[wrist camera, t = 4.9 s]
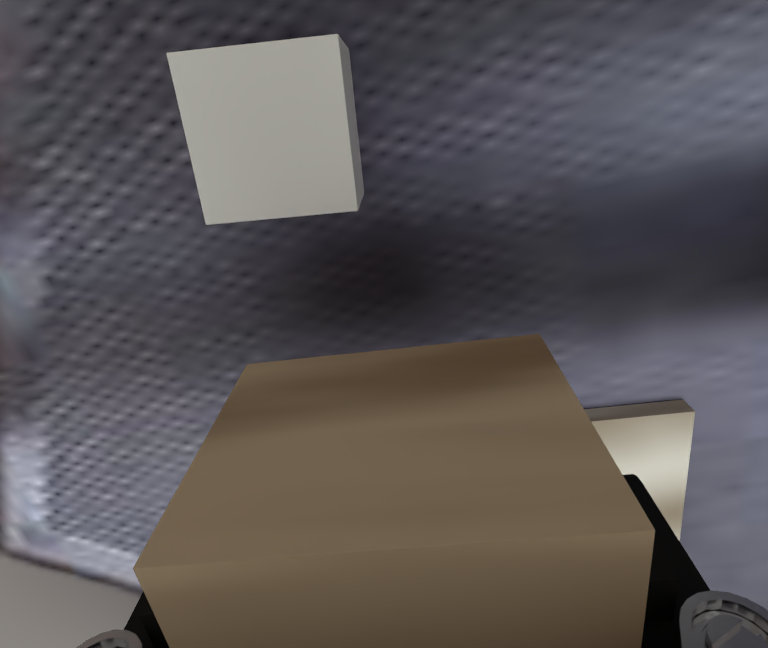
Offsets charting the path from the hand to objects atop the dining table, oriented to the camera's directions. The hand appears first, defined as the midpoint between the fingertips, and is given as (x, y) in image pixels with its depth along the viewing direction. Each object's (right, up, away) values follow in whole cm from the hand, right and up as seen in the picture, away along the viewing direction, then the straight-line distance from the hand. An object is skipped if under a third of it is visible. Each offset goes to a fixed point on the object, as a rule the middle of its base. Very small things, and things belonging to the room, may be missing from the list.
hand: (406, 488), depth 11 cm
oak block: (0, 0, +1) cm, 1 cm away
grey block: (-4, +11, +8) cm, 14 cm away
